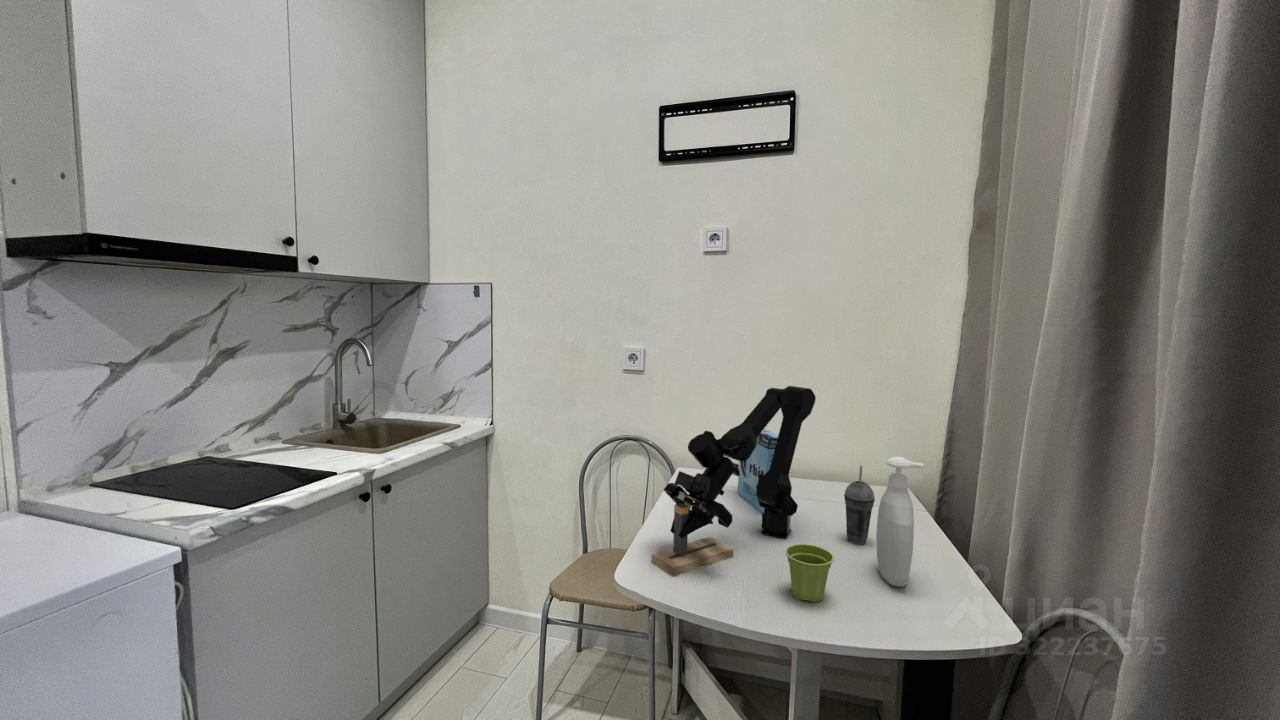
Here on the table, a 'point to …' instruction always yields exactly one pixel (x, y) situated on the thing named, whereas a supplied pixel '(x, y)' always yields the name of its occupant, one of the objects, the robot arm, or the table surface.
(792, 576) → the plant pot
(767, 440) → the gum box
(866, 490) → the beverage cup
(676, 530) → the fader tab
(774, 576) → the table surface
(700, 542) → the fader track
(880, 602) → the table surface
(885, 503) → the soap bottle
